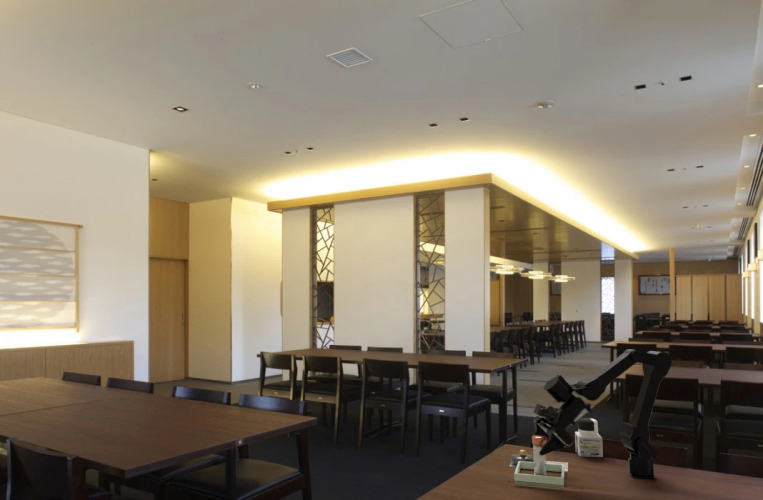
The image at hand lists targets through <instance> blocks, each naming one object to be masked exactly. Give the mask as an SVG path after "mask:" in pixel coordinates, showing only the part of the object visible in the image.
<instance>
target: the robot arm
mask: <svg viewBox="0 0 763 500" xmlns="http://www.w3.org/2000/svg"><path fill="white" fill-rule="evenodd" d="M637 363H639V364H642V366H641V368H642V372H643V379H642V382H641V386H640V390H639V392H638V397H637V400H636V403H635V406H634V409H633V414H632V418H631V419H630V420H629V421H628V422H625V421H624V422H622V425H621V430H620V432H619V433H618V434H619V435H620V442H621V444H622V445H623V446H624V447H625V450H626V452H627V453H629V457H628V459H627V460H628V472H629V474H631V475H630V476H631V477H632V478H638V479H639V478H640V479H650V480H655V479H656V476H655V468H654V459H655V460H656V459H657V456H658V451H657V449H656V448H654V447H653V446H652V444H651V443H650V439H651V433H650V429H649V424H650V419H651V415H652V413H653V409H654V406H655V401H656V399H657V395H658V392H659V388H660V384H661V382H662V381H663V379H664V378H665V377H666V376H667V375H668V374H669V371H670V370H671V367H672V365H673V359H672V357H671V356H670V355H669V353H667V352H664V351H663V352H662V351H655V350H649V351H647V352H645V351H639V350H636V349H632V348H631V349H630V348H629V349H625V350H624V351H623V353H622V354H620V355H619V356H618V357H616V358H615V359H614V360H613V361H611V362H610V363H608V364H607V365H605V366H604V367H603V368H601V370H599V371H597V373H594V374H591V375H589V376H586V377H584V378H581V379H580V380H578V381H577V383H573V384H569V382H567V380H565V378H564V377H563V376H562V375H560V374H557V375H556V376H554V377H552V378H551V379H550V380H547V381H546V383H545V384H544V386H543V390H544V391H545V392H546V393H547V394H548V395H549V396H550V397H551V398H552V399H553V400H554V401H555V402H556V403H562V404H561V405H560V406H559V407H554V406H551V405H549V404H547V405H546V406H544V405H542V404H540V403H538V402H536V404H535V408H534V409H533V413H534V414H535V415H536V416H535V417H534V418H533V425H534V432H533V433H532V436H534V435H540V436H545V437H546V443H545V444H544V446H543V447H542V449H541V450H540V452H539V454H540V455H541V456H543V455H545V454H546V455H547V454H550V453H553V452H555V451H557V450H561V449H563V448H565V449H566V448H567V447H569V448H570V447H571V446H572V445H573V444H574V443H575V440H574V439H575V437H573V435H571V434H570V432H568V429H569V428H570V427H571V426H575V425H576V422H575V421H576V420H577V418H578V417H579V416H580V415H581V414H582V413H583V412H584V411H585V412H586V413H589V414H591V413H592V412H593V411H592V404H591V403H589V402H586V401H584V400H583V399H585V400H587V401H590V402H591V401H592V402H594V401H597V400H599V398H600V397H601V396H602V395H603V394H604V393H605V391H606V390H607V387H608V386H609V385H610V384H611V383H613V381H614V380H616V379H617V378H618V377H620V376H621V375H622V374H624V373H625V372H627V370H629V369H630V368H632V367H633V366H634V365H635V364H637ZM575 394H576V395H577V396H576V395H575ZM528 447H529V448H530V449H531V448H533V444H532V437H531V439H530V440H529V443H528Z"/></svg>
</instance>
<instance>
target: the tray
mask: <svg viewBox="0 0 763 500" xmlns="http://www.w3.org/2000/svg"><path fill="white" fill-rule="evenodd" d="M521 469H523V470H526V469H527V470H534V462H524V461H518V464H517V467H515V471H514V473H513V474H514V476H513V477H514V485H522V486H531V487H532V486H533V487H541V488H551V489H561V490H564V489H565V471H564V465H559V464H548V463H546V472H547V471H548V472H557V473H561V476H552V475H551V476H550V475H546V476H542V475H534V474H529V473H520V471H521Z"/></svg>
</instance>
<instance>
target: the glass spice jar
mask: <svg viewBox="0 0 763 500" xmlns="http://www.w3.org/2000/svg"><path fill="white" fill-rule="evenodd" d="M531 438H532V444H533V447H532V448H533V450H532V451H533V452H532V454H533V456H534V469H533V475H542V476H547V471H546V461H547V458H546V456H547V454H545V455H543V456H541V455H540V454H539V452H540V450H541V449H542V447H543V446H544V444H545V443H546V441H547V439H546V437H545V436H540V435H534V436H533V435H531Z"/></svg>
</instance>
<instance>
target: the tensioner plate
mask: <svg viewBox="0 0 763 500" xmlns="http://www.w3.org/2000/svg"><path fill="white" fill-rule="evenodd" d="M518 461H524V462H534V454H533V455H532V454H528V453H527V450H526V449H520V450H519V453H513V454H511V455H510V463H509V467H512V468H513V467H514V468H516V467H517V464H518ZM546 463H548V464H559V465H564V472H568V471H569V462H563V461H552V460H546Z"/></svg>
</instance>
